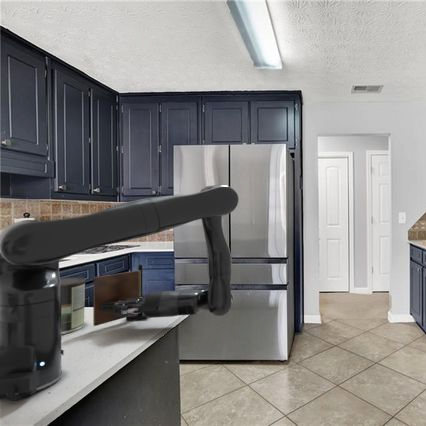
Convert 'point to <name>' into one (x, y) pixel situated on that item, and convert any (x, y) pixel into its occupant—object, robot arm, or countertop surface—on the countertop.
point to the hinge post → (141, 315)
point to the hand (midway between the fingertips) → (101, 306)
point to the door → (114, 293)
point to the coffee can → (72, 304)
